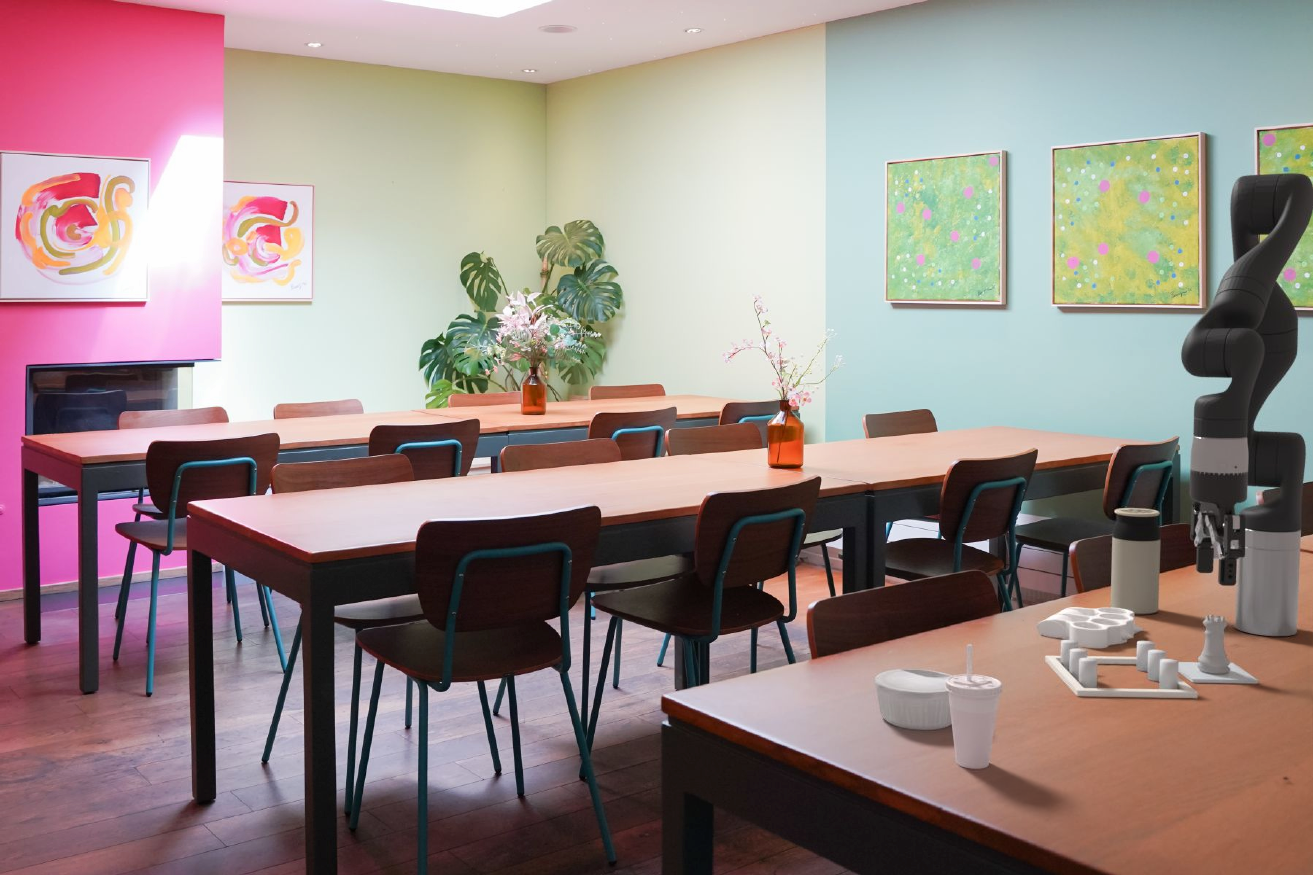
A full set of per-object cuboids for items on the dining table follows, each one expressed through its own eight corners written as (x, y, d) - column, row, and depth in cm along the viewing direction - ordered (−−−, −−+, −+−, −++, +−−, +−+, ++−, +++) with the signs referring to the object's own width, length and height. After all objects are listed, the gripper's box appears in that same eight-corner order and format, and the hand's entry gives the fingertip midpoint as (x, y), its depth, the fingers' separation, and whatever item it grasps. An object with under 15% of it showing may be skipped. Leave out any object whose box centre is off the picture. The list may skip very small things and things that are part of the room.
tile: (1170, 665, 180) (1170, 661, 180) (1232, 666, 179) (1232, 662, 179) (1192, 682, 171) (1192, 679, 171) (1257, 683, 170) (1258, 680, 170)
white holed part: (1067, 619, 210) (1154, 632, 201) (1029, 640, 196) (1121, 655, 187) (1068, 601, 210) (1155, 612, 201) (1029, 620, 196) (1121, 634, 187)
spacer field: (1045, 660, 183) (1045, 634, 182) (1153, 662, 181) (1154, 636, 181) (1077, 696, 165) (1077, 667, 164) (1197, 698, 163) (1198, 669, 163)
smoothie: (936, 754, 142) (938, 638, 141) (989, 752, 143) (991, 636, 142) (954, 773, 136) (956, 652, 135) (1009, 771, 136) (1012, 651, 135)
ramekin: (966, 710, 159) (967, 671, 159) (958, 737, 148) (959, 696, 148) (881, 702, 163) (881, 664, 162) (868, 728, 152) (868, 687, 152)
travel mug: (1165, 615, 211) (1168, 514, 210) (1120, 615, 212) (1122, 514, 210) (1147, 605, 219) (1150, 507, 218) (1103, 605, 219) (1106, 507, 218)
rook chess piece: (1234, 675, 172) (1235, 620, 171) (1200, 674, 173) (1202, 619, 172) (1226, 667, 177) (1227, 613, 176) (1193, 665, 177) (1195, 612, 177)
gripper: (1267, 474, 165) (1263, 590, 167) (1226, 461, 179) (1223, 568, 181) (1210, 474, 166) (1207, 589, 167) (1174, 461, 180) (1171, 568, 181)
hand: (1215, 578), depth 174 cm, fingers open, 8 cm apart
